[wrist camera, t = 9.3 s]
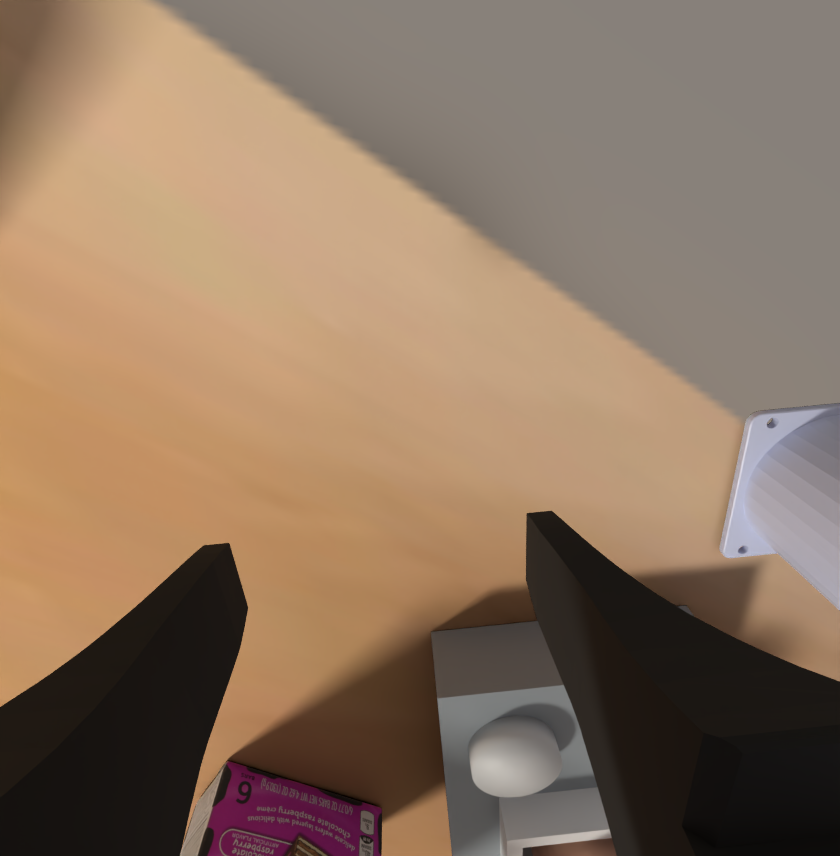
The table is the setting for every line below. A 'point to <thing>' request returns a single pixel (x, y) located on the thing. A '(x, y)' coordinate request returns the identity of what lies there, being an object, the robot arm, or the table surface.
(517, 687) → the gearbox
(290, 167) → the table surface
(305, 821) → the candy bar box
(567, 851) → the peach tapered capsule
